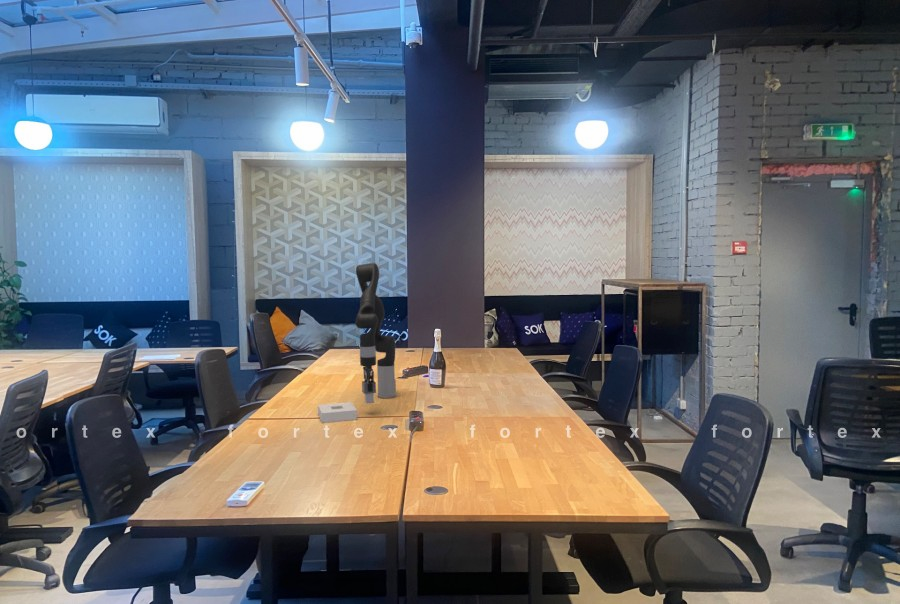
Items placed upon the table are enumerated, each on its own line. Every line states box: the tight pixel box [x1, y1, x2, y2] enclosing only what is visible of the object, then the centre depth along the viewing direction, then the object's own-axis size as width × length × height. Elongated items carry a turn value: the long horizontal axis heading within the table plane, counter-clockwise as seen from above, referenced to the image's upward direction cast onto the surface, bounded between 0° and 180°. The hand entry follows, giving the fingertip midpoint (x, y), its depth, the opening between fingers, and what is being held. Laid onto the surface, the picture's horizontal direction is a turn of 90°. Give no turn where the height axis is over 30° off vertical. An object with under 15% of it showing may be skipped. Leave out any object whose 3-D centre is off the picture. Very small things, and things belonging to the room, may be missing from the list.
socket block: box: [317, 401, 358, 424], centre depth 278 cm, size 16×16×4 cm
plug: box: [361, 379, 377, 405], centre depth 283 cm, size 6×6×10 cm
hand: (369, 389), depth 282 cm, fingers closed on plug, 5 cm apart
